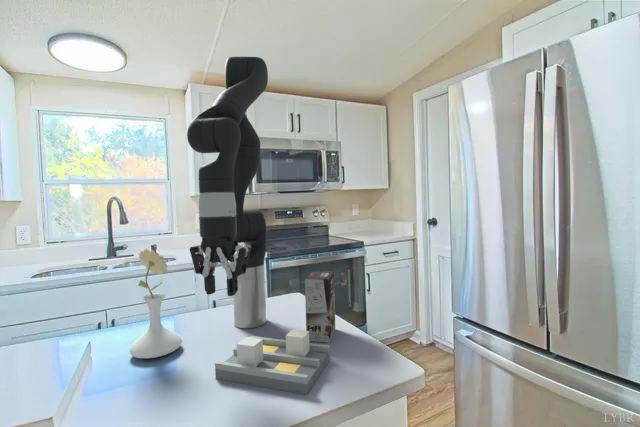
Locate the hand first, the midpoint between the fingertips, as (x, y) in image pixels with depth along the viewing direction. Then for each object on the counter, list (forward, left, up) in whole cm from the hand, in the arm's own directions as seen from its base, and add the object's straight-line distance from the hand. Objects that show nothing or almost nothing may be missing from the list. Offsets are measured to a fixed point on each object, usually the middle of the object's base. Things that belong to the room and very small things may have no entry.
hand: (221, 294), depth 71 cm
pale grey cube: (+5, +3, -14) cm, 15 cm away
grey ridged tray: (+7, +8, -16) cm, 20 cm away
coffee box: (0, +27, -17) cm, 31 cm away
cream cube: (+9, +13, -14) cm, 21 cm away
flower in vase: (-20, -9, -17) cm, 27 cm away
